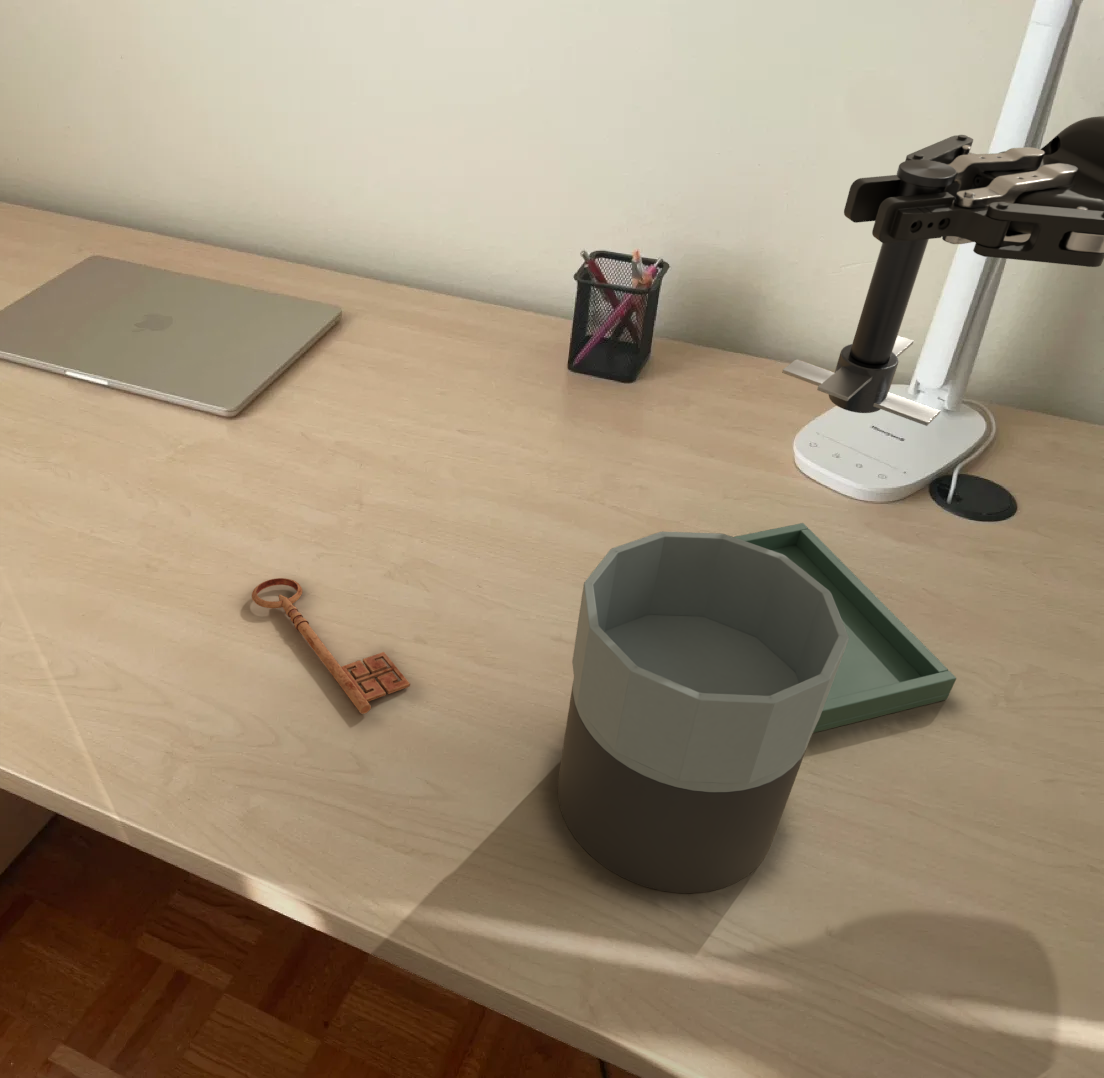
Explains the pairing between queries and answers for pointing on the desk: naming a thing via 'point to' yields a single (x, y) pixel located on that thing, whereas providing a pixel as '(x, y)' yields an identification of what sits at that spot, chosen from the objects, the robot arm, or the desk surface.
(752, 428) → the desk surface
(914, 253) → the blade
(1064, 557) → the desk surface
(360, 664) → the key
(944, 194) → the robot arm
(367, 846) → the desk surface
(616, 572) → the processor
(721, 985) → the desk surface
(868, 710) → the tray
